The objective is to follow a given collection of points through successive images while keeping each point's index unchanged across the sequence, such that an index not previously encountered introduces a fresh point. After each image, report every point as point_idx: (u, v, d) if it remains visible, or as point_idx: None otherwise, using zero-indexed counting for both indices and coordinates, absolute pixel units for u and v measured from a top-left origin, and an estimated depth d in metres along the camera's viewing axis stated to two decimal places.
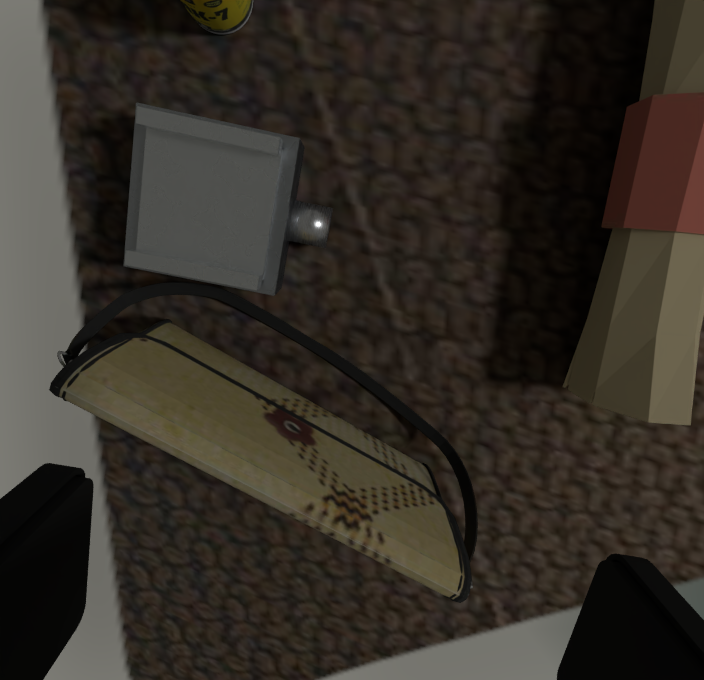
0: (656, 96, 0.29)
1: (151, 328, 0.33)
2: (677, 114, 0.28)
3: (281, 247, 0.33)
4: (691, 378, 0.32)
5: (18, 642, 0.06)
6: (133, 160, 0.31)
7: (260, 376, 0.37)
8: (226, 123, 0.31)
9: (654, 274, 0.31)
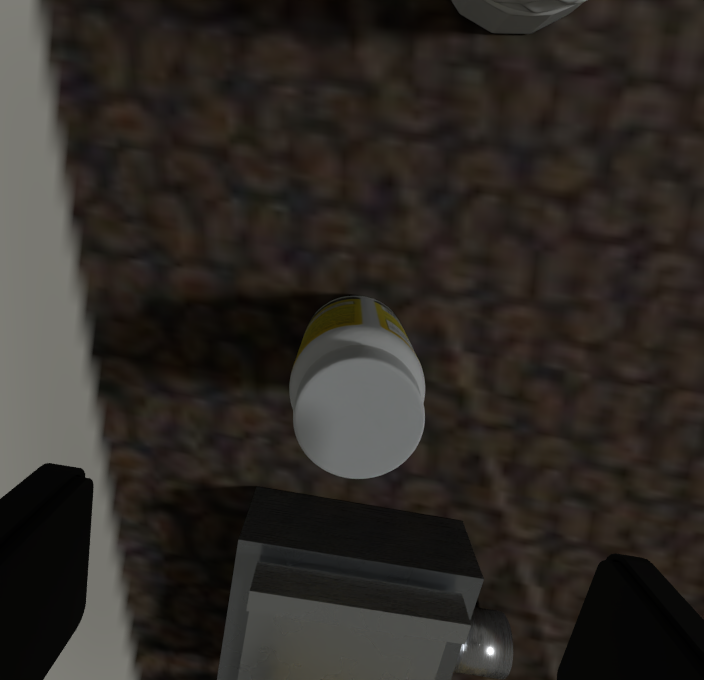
0: None
1: None
2: None
3: None
4: None
5: (18, 642, 0.06)
6: (230, 606, 0.21)
7: None
8: (373, 563, 0.20)
9: None
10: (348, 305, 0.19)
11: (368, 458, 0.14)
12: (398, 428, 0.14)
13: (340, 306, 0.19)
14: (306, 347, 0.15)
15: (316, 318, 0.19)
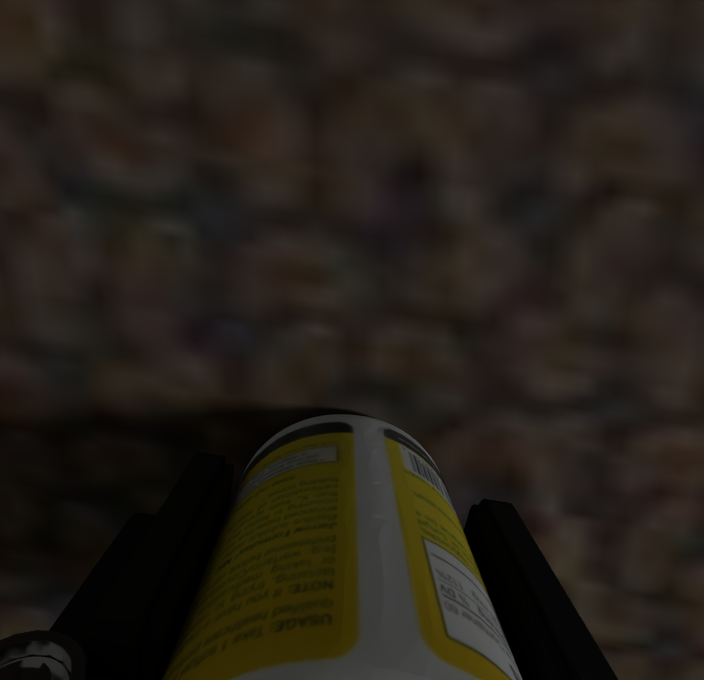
0: None
1: None
2: None
3: None
4: None
5: None
6: None
7: None
8: None
9: None
10: (323, 471, 0.08)
11: None
12: None
13: (304, 471, 0.08)
14: None
15: (248, 493, 0.08)
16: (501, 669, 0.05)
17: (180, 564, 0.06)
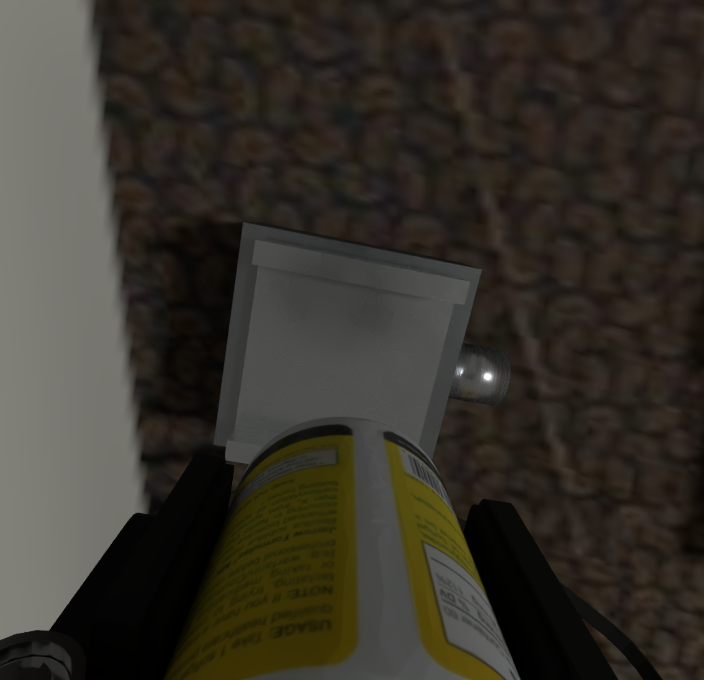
0: None
1: None
2: None
3: (441, 416, 0.23)
4: None
5: None
6: (234, 302, 0.21)
7: None
8: (374, 250, 0.21)
9: None
10: (323, 474, 0.07)
11: None
12: None
13: (303, 474, 0.08)
14: None
15: (247, 495, 0.08)
16: (501, 675, 0.05)
17: (180, 564, 0.06)
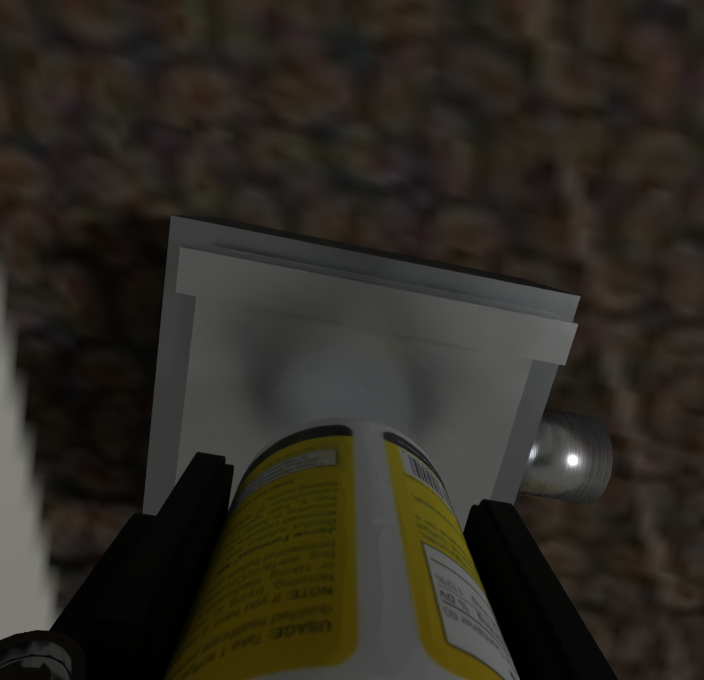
0: None
1: None
2: None
3: None
4: None
5: None
6: (162, 351, 0.13)
7: None
8: (399, 264, 0.12)
9: None
10: (323, 474, 0.07)
11: None
12: None
13: (303, 475, 0.08)
14: None
15: (247, 496, 0.08)
16: (501, 675, 0.05)
17: (180, 564, 0.06)
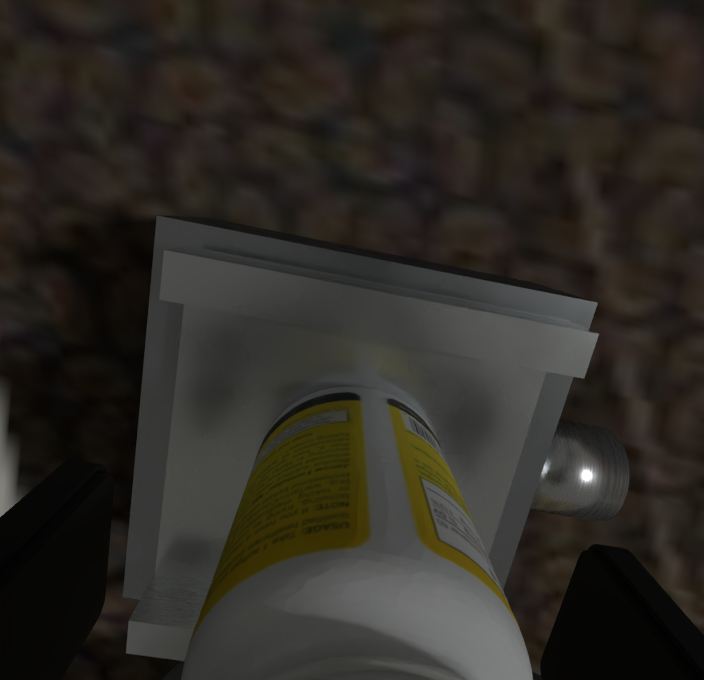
0: None
1: None
2: None
3: (513, 550, 0.13)
4: None
5: (46, 632, 0.06)
6: (148, 361, 0.12)
7: None
8: (403, 268, 0.11)
9: None
10: (336, 428, 0.09)
11: None
12: None
13: (320, 429, 0.09)
14: (219, 607, 0.06)
15: (272, 449, 0.09)
16: (481, 567, 0.06)
17: None
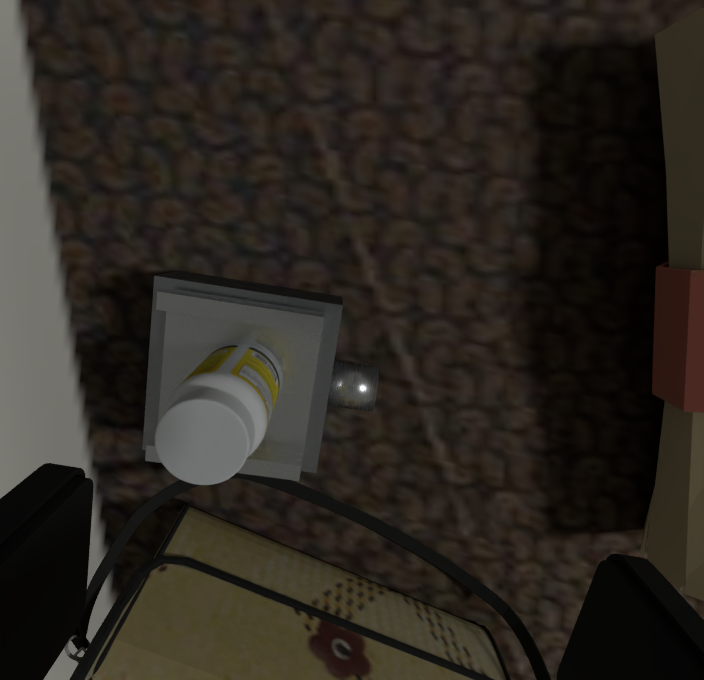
0: (695, 272, 0.25)
1: (169, 538, 0.29)
2: None
3: (323, 421, 0.29)
4: None
5: (18, 642, 0.06)
6: (152, 337, 0.27)
7: (294, 561, 0.33)
8: (258, 293, 0.27)
9: None
10: (221, 354, 0.24)
11: (211, 469, 0.20)
12: (230, 447, 0.19)
13: (216, 355, 0.24)
14: (174, 390, 0.21)
15: None
16: (251, 382, 0.22)
17: None
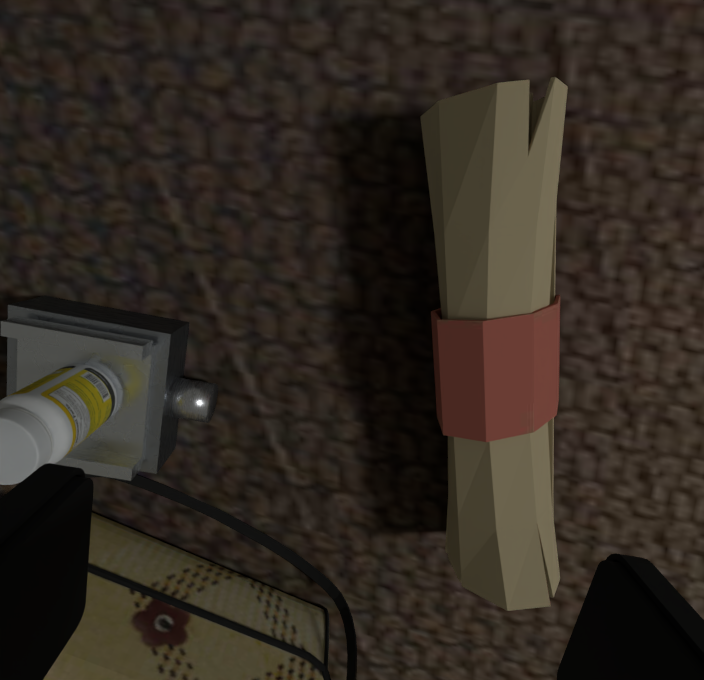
0: (440, 321, 0.29)
1: None
2: (460, 339, 0.29)
3: (160, 430, 0.34)
4: (541, 562, 0.32)
5: (18, 642, 0.06)
6: (9, 355, 0.32)
7: (149, 549, 0.38)
8: (97, 322, 0.32)
9: (482, 474, 0.31)
10: (52, 374, 0.29)
11: (9, 473, 0.25)
12: (22, 456, 0.24)
13: (48, 375, 0.29)
14: None
15: None
16: (60, 401, 0.27)
17: None
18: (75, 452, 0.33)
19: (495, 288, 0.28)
